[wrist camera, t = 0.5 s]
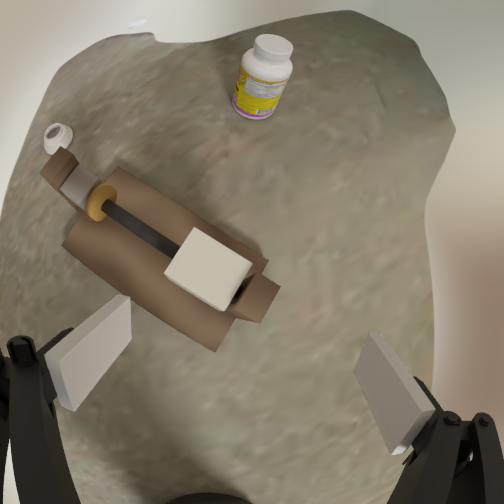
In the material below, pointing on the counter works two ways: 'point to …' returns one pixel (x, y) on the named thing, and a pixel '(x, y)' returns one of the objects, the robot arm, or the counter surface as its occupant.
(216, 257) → the sleeve
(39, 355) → the robot arm
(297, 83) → the counter surface
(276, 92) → the supplement bottle
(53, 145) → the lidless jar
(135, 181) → the brown stand with rod
